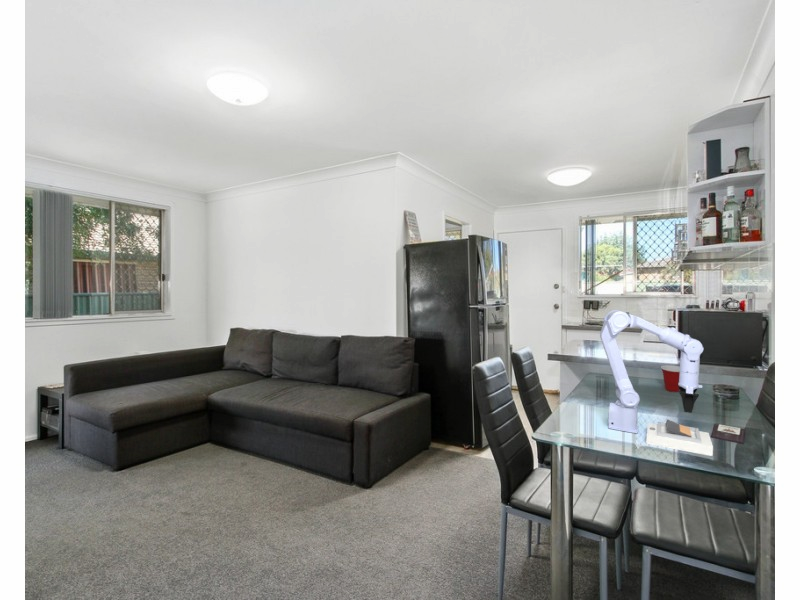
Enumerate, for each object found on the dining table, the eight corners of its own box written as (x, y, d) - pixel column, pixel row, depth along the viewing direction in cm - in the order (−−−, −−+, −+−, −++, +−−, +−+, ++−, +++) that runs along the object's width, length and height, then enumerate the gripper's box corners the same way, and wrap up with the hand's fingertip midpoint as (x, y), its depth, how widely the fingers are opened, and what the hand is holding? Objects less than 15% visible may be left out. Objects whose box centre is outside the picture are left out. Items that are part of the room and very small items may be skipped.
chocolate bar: (710, 436, 149) (714, 423, 162) (710, 438, 149) (714, 425, 162) (743, 442, 143) (744, 429, 156) (743, 445, 143) (744, 431, 156)
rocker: (665, 431, 141) (667, 426, 141) (665, 424, 149) (667, 418, 148) (689, 442, 138) (691, 436, 137) (687, 433, 145) (690, 428, 145)
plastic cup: (658, 390, 213) (659, 367, 212) (660, 386, 221) (661, 364, 221) (684, 394, 206) (685, 370, 206) (685, 390, 215) (686, 367, 214)
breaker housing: (646, 443, 142) (646, 431, 141) (647, 430, 154) (648, 419, 154) (712, 456, 132) (713, 443, 132) (708, 441, 145) (708, 429, 145)
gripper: (704, 377, 141) (702, 416, 141) (701, 369, 153) (699, 406, 154) (679, 374, 145) (677, 413, 145) (678, 367, 157) (676, 403, 157)
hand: (687, 409), depth 150 cm, fingers open, 7 cm apart
